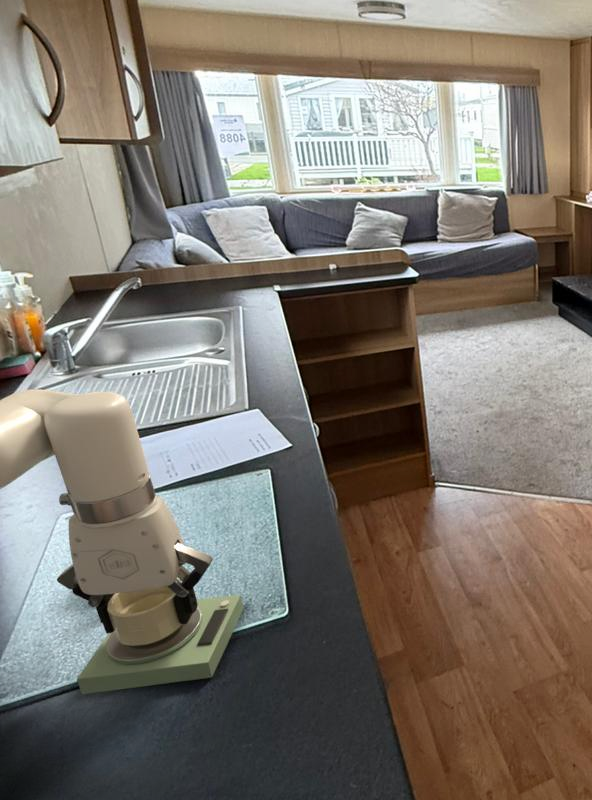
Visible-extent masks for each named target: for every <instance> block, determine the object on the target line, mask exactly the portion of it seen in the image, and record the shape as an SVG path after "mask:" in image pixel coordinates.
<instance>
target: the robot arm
mask: <svg viewBox="0 0 592 800" xmlns="http://www.w3.org/2000/svg"><path fill="white" fill-rule="evenodd" d="M53 456H54V457H55V460H56V462H57V465H58V468H59V471H60V475H61V477H62V480H63V483H64V486H65V489H66V491H67V492H64V493H61V494H60V495H59V497H58V503H59V504H60V506H69V507H71V510H72V513H73V514H72V515H71V516H70V517H69V519H68V541H69V550H70V551H69V552H70V557H71V562H72V564H70V565H69V566H68V567H66V569H64V570H63V571H62V572H61V573H60V575H58V577H56V582H57V583H59V584H60V585H62V586H63V587H65V588H67V589H68V590H71V591H72V593H73V595H75V596H77V597H79V598H81V599H83V600H85V601H87V605H88V607H91V608H95V610H96V613H97V616H98V618H99V621H100V624H102V625H103V628H104V631H105V634H109V633H112V632H113V631H114V628H113V625H112V622H111V619H110V616H109V613H108V610H107V608H108V602H109V601H110V599H111V598H112V597H113V595H114V594H115V593H125V592H134V591H143V590H151V589H159V588H164V587H168V588H169V589H170V590H171V591H172V592H174V593H175V594H176V596H175V598H174V600H173V602H174V605H175V609H176V612H177V616H178V619H179V623H181V624H187V623H188V621H189V619H190V617H191V616H192V614H193V613H194V612H195V611H196V609H197V606H198V603H197V599H198V598H197V597H196V592H195V588H194V587H195V586H196V585H197V584H198V583H199V582H200V581H201V579H202V577H204V574H205V573H206V572H207V570H208V569H209V567H210V565H211V564H212V562H213V560H214V558H213V556H211V555H209V554H207V553H204V552H202V551H200V550H197V549H195V548H193V547H189V546H188V545H185V543H184V540H183V536H182V534H181V532H180V529H179V527H178V524H177V522H176V520H175V518H174V516H173V514H172V512H171V510H170V508H169V507H168V505H167V503H166V502H165V500H164V499H163V497H162V496H156V491H155V489H154V485H153V481H152V478H151V474H150V471H149V467H148V464H147V460H146V457H145V453H144V450H143V446H142V442H141V438H140V435H139V432H138V428H137V425H136V421H135V417H134V414H133V410H132V407H131V405H130V403H129V401H128V400H127V399H126V397H125V396H123V395H121V394H120V393H117V392H113V391H92V392H86V393H80V394H78V393H69V392H61V391H57V390H50V389H41V388H39V389H38V388H36V389H34V388H33V389H31V388H30V389H24V390H20V391H17V392H14V393H11V394H9V395H7V396H6V397H3V398H1V399H0V490H1V489H3V488H5V487H7V486H8V485H10V484H11V483H13V482H15V481H16V480H18V479H19V478H20V477H22V476H23V475H24V474H26V473H27V472H29V471H30V470H31V469H33V468H34V467H36V466H37V465H38V464H39V463H42V462H43V461H45V460H47V459H49V458H51V457H53ZM186 564H187V565H191V566H192V567H193V569H192V570H191V571H189V570H188V569H187V568H186V567H185V566H184V565H186ZM176 578H177V579H176ZM179 580H180V581H179Z"/></svg>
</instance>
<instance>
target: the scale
mask: <svg viewBox="0 0 592 800" xmlns="http://www.w3.org/2000/svg"><path fill="white" fill-rule="evenodd" d="M196 599H197V603H198V606H197V607H198V608H199V610H200V612H201V616H202V622H201V625H200V627H199V629H198V631H197V632H196V633H195V635H194V636H193V637H192V638H191V639H190V640H189V641H187V642H186V643H185V644H184V645H182V646H181V647H179V648H178V649H176V650H175V651H173V652H171V653H169V654H167V655H165V656H163V657H160V658H158V659H155V660H152V661H148V662H144V663H138V664H122V663H118V662H115V661H113V660H112V659H111V658H110V657H109V656H108V653H107V650H106V644H107V641H108V638H109V637H110V635H111V634H112V633H107V634H106V636H105V638H104V640H103V641H101V643H100V645H99V646H98V648H97V649H96V651H95V652H94V654H93V655H92V657H90V659H89V660H88V662H87V663H86V664H85V667H84V668H83V669H82V670H81V672H80V673H79V675H78V676H77V678H76V681H77V685H78V687H79V689H80V693H81V694H82V695H89V694H96V693H102V692H111V691H119V690H127V689H133V688H134V689H135V688H141V687H142V688H143V687H148V686H149V687H150V686H156V685H157V686H158V685H164V684H170V683H171V684H172V683H180V682H187V681H195V680H203V679H210V678H211V679H212V678H213V676H214V674H215V672H216V670H217V667H218V666H219V663H220V661H221V659H222V657H223V655H224V652H225V650H226V648H227V646H228V644H229V642H230V639H231V637H232V635H233V633H234V631H235V628H236V626H237V624H238V622H239V620H240V619H241V616H242V614H243V612H244V610H245V607H244V604H243V603H244V602H243V599H242V596H241V594H234V595H226V596H218V597H217V596H215V597H208V598H206V597H205V598H196Z"/></svg>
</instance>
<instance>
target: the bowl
mask: <svg viewBox="0 0 592 800" xmlns="http://www.w3.org/2000/svg"><path fill="white" fill-rule="evenodd" d="M176 579H178V577H177V578H176ZM178 580H179V581H180V582H181V580H180V579H178ZM175 596H176V594H175V593H174V592H172V591H171V590H170V589H169V588H168V587H164V588H159V589H151V590H143V591H134V592H125V593H115V594H114V595H113V597H112V598H111V599H110V601H109V602H108V608H107V610H108V613H109V616H110V619H111V622H112V625H113V628H114V631H115V634H116V637H117V639H118V640H119V641H120V642H121V643H122V644H125V645H130V646H136V645H146V644H151V643H154V642H157V641H159V640H161V639H163V638H165V637H167V636H169V635H170V634H172V633H173V632H174V631H175V630H177V629H178V628H179V627H180V626H181V625H182V624H181V623H179V619H178V616H177V612H176V609H175V605H174V602H173V600H174V598H175Z"/></svg>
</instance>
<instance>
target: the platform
mask: <svg viewBox="0 0 592 800" xmlns="http://www.w3.org/2000/svg"><path fill="white" fill-rule="evenodd" d="M201 622H202V616H201V612H200V610H199V608H198V607H197V609H196V611H195V612H194V613H193V614H192V616H191V617H190V619H189V621H188V623H187V624H182V625H181V626H180V627H179V628H178V629H177V630H175V631H174V632H173V633H172V634H170V635H169V636H167V637H165V638H163V639H161V640H159V641H157V642H154V643H151V644H146V645H136V646H130V645H125V644H122V643H121V642H120V641H119V640H118V639H117V637H116V634H115V631H113V632H112V634H111V635H110V637H109V638H108V641H107V644H106V650H107V653H108V656H109V657H110V658H111V659H112V660H113V661H115V662H118V663H122V664H138V663H144V662H148V661H152V660H155V659H158V658H160V657H163V656H165V655H167V654H169V653H171V652H173V651H175V650H176V649H178V648H179V647H181V646H182V645H184V644H185V643H186V642H187V641H189V640H190V639H191V638H192V637H193V636H194V635H195V633H196V632H197V631H198V629H199V627H200V625H201Z"/></svg>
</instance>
